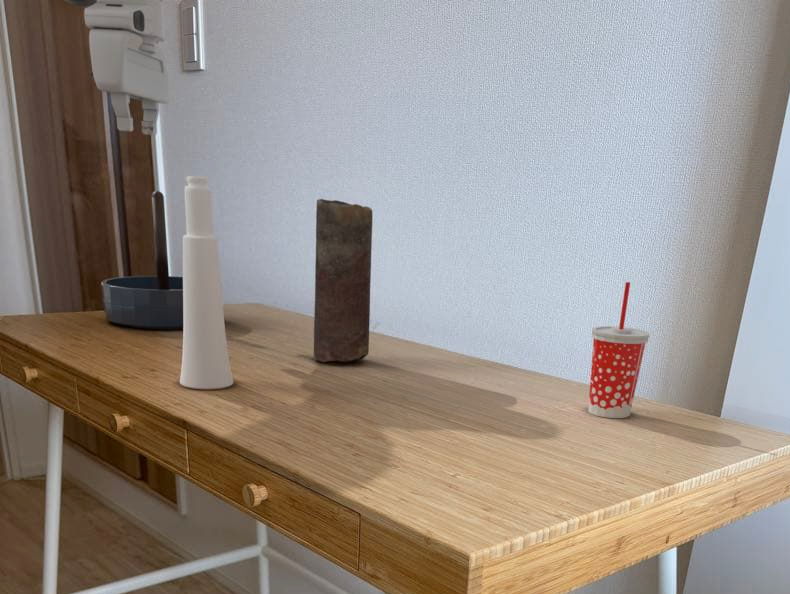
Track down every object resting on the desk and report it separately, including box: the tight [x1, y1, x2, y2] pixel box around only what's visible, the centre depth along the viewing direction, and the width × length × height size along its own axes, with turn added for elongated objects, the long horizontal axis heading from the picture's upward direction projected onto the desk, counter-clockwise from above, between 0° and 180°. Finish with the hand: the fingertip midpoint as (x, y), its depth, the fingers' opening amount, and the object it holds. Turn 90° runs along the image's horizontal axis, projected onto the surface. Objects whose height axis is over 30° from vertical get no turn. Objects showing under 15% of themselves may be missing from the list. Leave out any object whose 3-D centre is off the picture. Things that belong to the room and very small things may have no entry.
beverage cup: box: [587, 281, 651, 419], centre depth 90 cm, size 6×6×14 cm
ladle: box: [151, 190, 170, 290], centre depth 130 cm, size 6×6×19 cm
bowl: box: [100, 275, 223, 330], centre depth 133 cm, size 18×18×6 cm
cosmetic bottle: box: [179, 175, 234, 391], centre depth 92 cm, size 6×6×22 cm
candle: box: [313, 198, 374, 363], centre depth 108 cm, size 8×7×20 cm
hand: (138, 133), depth 122 cm, fingers open, 8 cm apart
